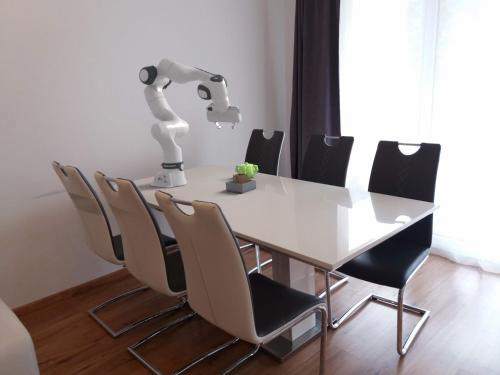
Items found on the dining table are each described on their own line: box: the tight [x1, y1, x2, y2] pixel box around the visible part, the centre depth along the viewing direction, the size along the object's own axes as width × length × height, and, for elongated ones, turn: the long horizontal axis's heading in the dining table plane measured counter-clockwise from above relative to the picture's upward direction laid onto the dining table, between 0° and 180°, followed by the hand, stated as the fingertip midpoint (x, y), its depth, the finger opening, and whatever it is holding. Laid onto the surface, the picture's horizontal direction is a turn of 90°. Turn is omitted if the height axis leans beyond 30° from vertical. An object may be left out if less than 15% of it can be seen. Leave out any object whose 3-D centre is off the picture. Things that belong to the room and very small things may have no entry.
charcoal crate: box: [225, 178, 257, 194], centre depth 230 cm, size 12×12×5 cm
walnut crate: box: [232, 173, 248, 184], centre depth 230 cm, size 6×6×8 cm
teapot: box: [234, 162, 259, 180], centre depth 260 cm, size 12×12×10 cm
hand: (226, 128), depth 233 cm, fingers open, 8 cm apart
